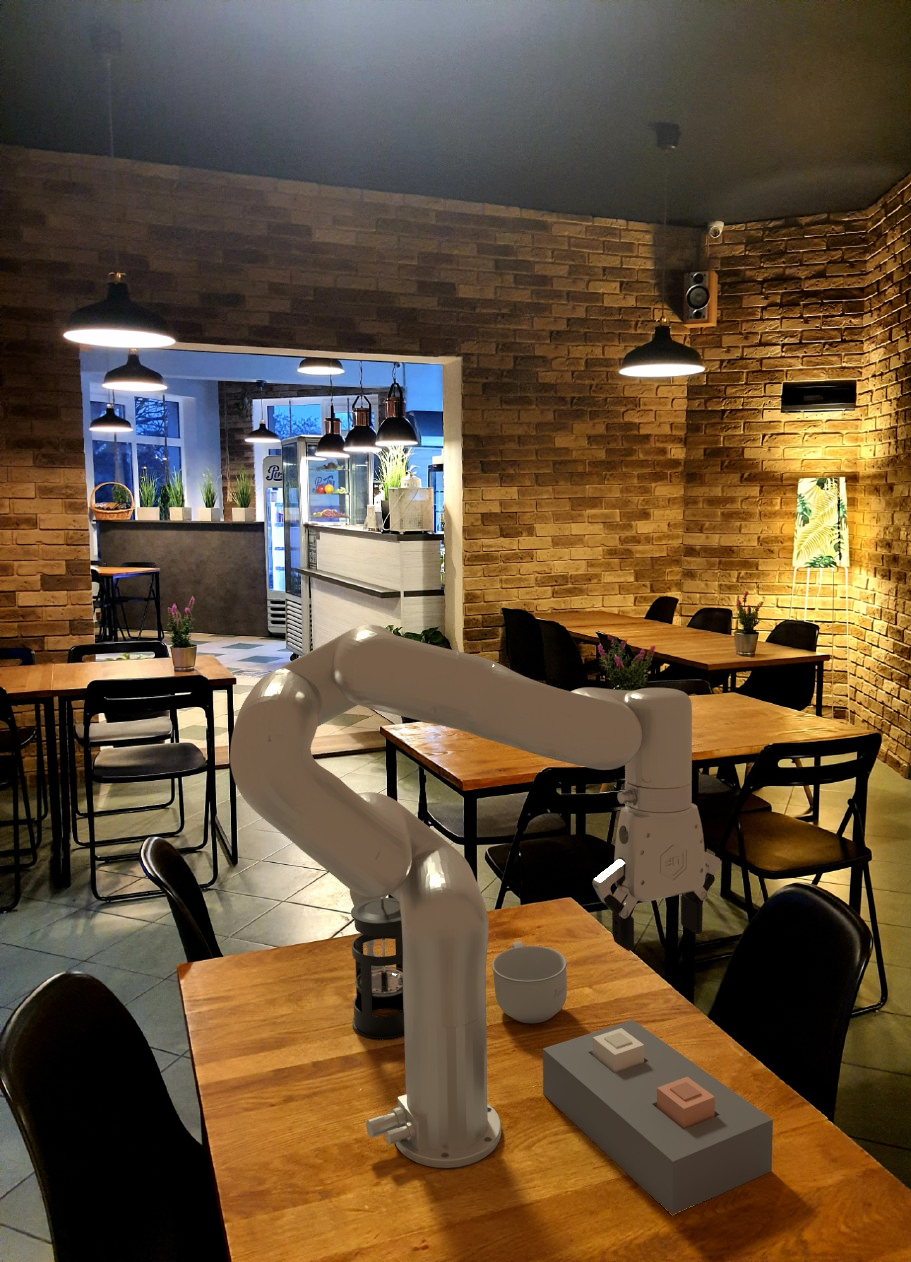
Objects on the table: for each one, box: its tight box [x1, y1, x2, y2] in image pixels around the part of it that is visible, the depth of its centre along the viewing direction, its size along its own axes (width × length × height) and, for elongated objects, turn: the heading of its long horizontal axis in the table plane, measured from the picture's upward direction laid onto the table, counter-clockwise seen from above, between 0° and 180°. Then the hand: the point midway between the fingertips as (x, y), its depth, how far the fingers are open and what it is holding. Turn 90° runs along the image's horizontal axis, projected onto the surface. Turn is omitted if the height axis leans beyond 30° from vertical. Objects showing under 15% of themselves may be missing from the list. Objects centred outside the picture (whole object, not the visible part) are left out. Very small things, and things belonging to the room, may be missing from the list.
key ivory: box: [593, 1028, 644, 1073], centre depth 114 cm, size 4×4×3 cm
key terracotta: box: [657, 1077, 715, 1130], centre depth 104 cm, size 4×4×3 cm
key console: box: [542, 1019, 774, 1215], centre depth 109 cm, size 14×24×6 cm, turn 28°
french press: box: [350, 897, 404, 1041], centre depth 133 cm, size 12×9×23 cm
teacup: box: [491, 941, 568, 1024], centre depth 138 cm, size 14×11×8 cm
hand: (658, 937), depth 110 cm, fingers open, 9 cm apart
